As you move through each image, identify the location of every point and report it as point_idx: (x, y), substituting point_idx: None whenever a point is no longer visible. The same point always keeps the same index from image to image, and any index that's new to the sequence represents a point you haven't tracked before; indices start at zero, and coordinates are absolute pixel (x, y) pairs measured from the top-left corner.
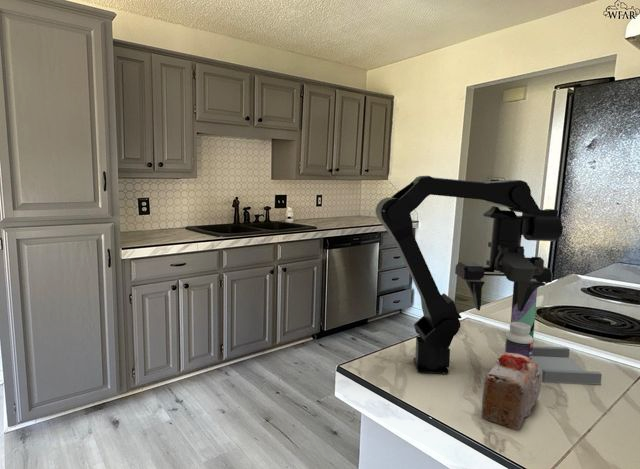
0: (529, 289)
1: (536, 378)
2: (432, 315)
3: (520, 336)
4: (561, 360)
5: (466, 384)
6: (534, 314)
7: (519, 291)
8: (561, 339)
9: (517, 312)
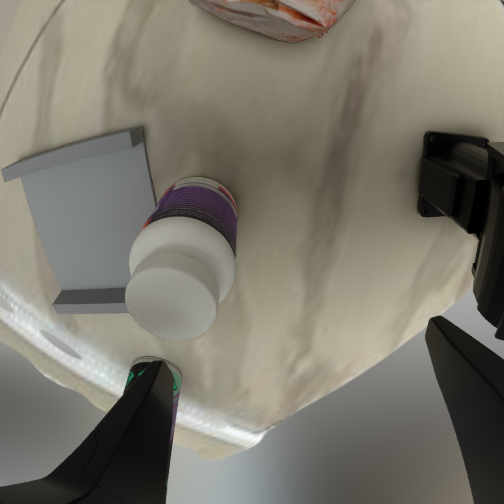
0: (77, 488)
1: None
2: None
3: (180, 246)
4: (76, 271)
5: (391, 73)
6: None
7: (153, 485)
8: (78, 370)
9: None
